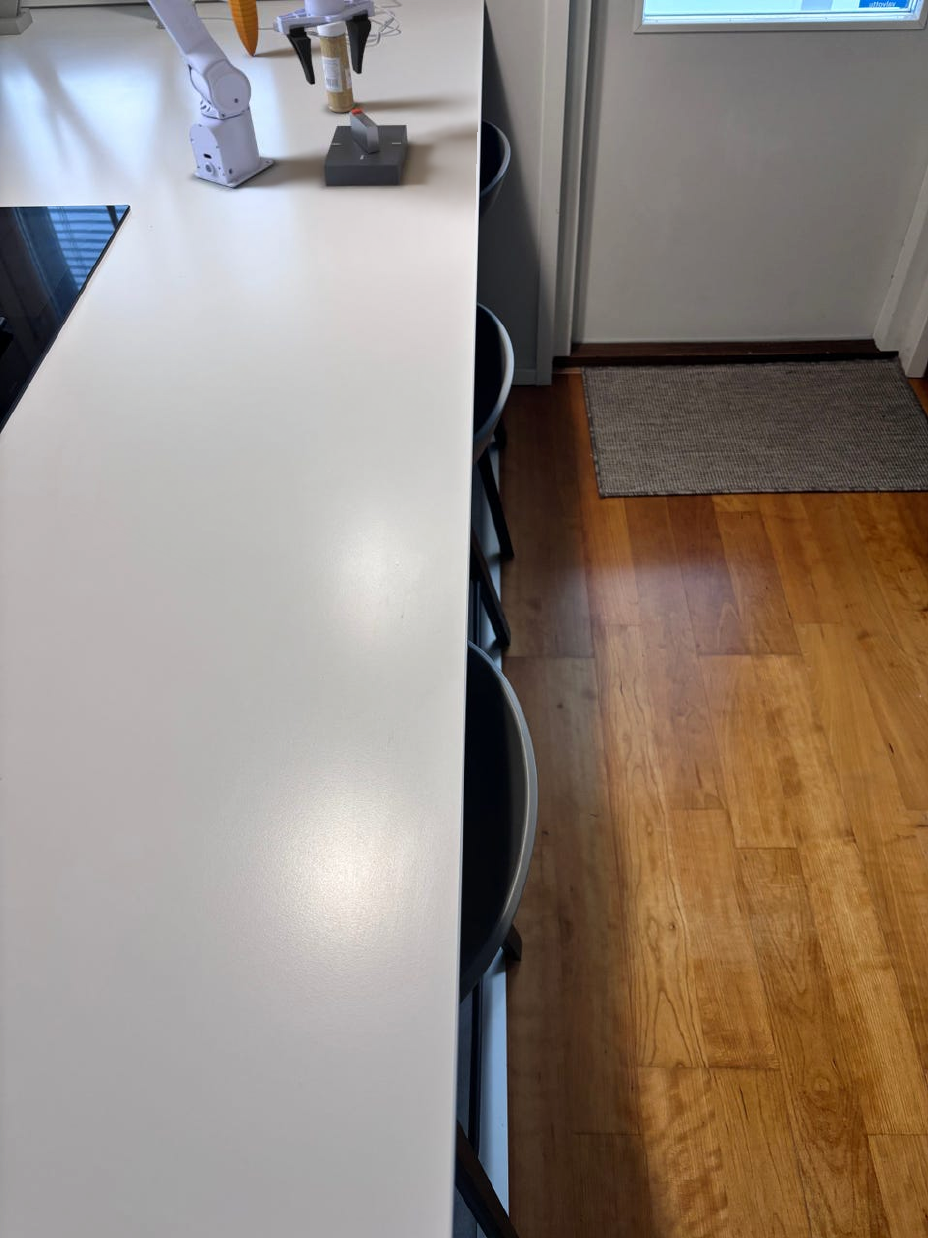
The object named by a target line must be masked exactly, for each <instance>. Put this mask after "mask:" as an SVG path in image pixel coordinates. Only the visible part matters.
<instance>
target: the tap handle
mask: <svg viewBox="0 0 928 1238" xmlns="http://www.w3.org/2000/svg"><path fill="white" fill-rule="evenodd" d="M348 113H349V114H348V115H349V123H350V126H351V131H352V138H353V139H354V140H355V141H356V142H357V143H358V144H360V145H361V146H362V147H363V148H364V149H365V150H366V151H367V152H368V153H373V152H377V151H380V148H379V138H378V128H377V125H378V124H377V123H376V122H374V120H372V119H371V117H369V116H368V115H367V114H366V113H365V112H363V110H362V109H361V108H355V109H354V108H353V109H352V110H350V111H348Z"/></svg>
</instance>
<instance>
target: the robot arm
mask: <svg viewBox="0 0 928 1238" xmlns="http://www.w3.org/2000/svg"><path fill="white" fill-rule="evenodd" d="M146 1H147V2H148V4H149V5H150V7H151V8H152V9H153V12H154V14H156V16H157V17H158V19H159V21H160V22H161V24H162V25H163V27H164V29H165V30H166V31H167V33H168V34H169V36H170V37H171V39H172V41H173V42H174V44H175V45H176V46H177V48H178V51H179V54H180V57H181V58H182V60H183V62H184V63H185V65H186V67H187V71H188V73H187V74H188V77H189V81H190V83H191V85H192V87H193V88H194V89H195V90H196V91H197V92H198V93H199V94H200V100H199V110H200V113H199V116H198V118H197V120H196V121H194V122H193V124H192V125H191V126H190V128H189V140H190V145H191V148H192V152H193V156H194V160H195V164H196V168H197V171H196V172H195V177H197V178H200V179H203V180H206V181H209V182H212V183H217V184H219V185H223V186H226V187H229V188H235V187H237V186H238V185H240V184H242V183H244V182H245V181H247V180H248V179H250V178H252V177H254V176H255V175H257V174H258V173H260V172H262V171H263V170H265V169H267V168H268V167H270V166H272V165H273V164H274V161H273V160H272V159H270V158H266V157H262V156H260V152H259V151H260V150H259V146H258V141H257V140H258V139H257V136H256V131H255V125H254V120H253V116H252V110H251V105H250V101H251V99H252V86H251V85H252V84H251V82H250V80H249V78H248V76H247V75H246V74H245V73H244V72H243V71H242V70H240V69H239V68H237V67H236V66H235V65H233V64H232V63H231V62H230V60H229V58H228V56H227V55H226V53H225V52H224V51H223V49H222V48H221V47H220V46H219V44H217V42H216V40H215V39H214V38H213V37H212V35H211V33H210V32H209V30H208V29H207V27H206V26H205V24H204V23H203V21H202V19H201V18H200V16H199V14H198V12H197V11H196V9H195V8H194V5H193V4H192V3H191V1H190V0H146ZM375 16H376V13H375V2H374V0H304V6H303V7H302V8H299V9H296V10H294V11H291V12H288V13H285V14H282V15H281V14H280V15H276V23H277V28H278V32H279V33H280V34H281V35H283V36H286V38H287V40H288V41H289V43H290V45H291V47H292V49H293V50H294V53H295V54H296V56H297V58H298V60H299V62H300V65H301V68H302V70H303V73H304V77H305V80H306V82H307V83H308V84H309V85H311V86H313V85H316V76H315V70H314V65H313V56H312V38H310V37H309V36H308V32H307V31H306V29H312V28H315V27H316V28H317V26H321V25H326V24H331V23H336V22H340V21H345V24H346V33H347V36H348V42H349V49H350V50H349V51H350V63H351V67H352V71H353V72H354V73H355V74H357V75H361V74H362V73H363V62H364V55H365V49H366V46H367V41H368V39H369V37H370V33H371V31H372V20H370V19H369V18H372V17H375Z"/></svg>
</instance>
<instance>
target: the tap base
mask: <svg viewBox="0 0 928 1238" xmlns="http://www.w3.org/2000/svg"><path fill="white" fill-rule="evenodd" d="M377 128H378V138H379V148H380V151H377V152H373V153H368V152H367V151H366V150H365V149H364V148H363V147H362V146H361V145H360V144H358V143H357V142H356V141H355V140H354V139H353V138H352V131H351V125H337V126H336V128H335V130H334V133H333V136H332V139H331V141H330V145H329V147H328V150H327V154H326V157H325V160H324V162H323V166H322V167H323V173H324V175H323V176H324V181H325V186H326V187H342V186H343V187H344V186H345V187H349V186H351V187H352V186H353V187H355V186H356V187H357V186H358V187H359V186H361V187H362V186H363V187H364V186H367V187H368V186H399V185H400V182H401V178H402V173H403V168H404V164H405V160H406V159H405V158H406V154H407V151H408V145H409V140H408V129H407V124H377Z"/></svg>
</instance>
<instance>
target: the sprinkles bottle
mask: <svg viewBox="0 0 928 1238" xmlns="http://www.w3.org/2000/svg"><path fill="white" fill-rule="evenodd" d="M316 28H317V34H318V37H319V42H320V43H319V44H320V52H321V60H322V61H321V62H322V67H323V76H324V82H325V89H326V92H327V100H328V101H327V102H328V109H329V110H330V111H331V112H332V113H333V112H334V113H347V112H350V110H354V108H355V106H356V102H355V100H354V93H353V82H352V75H351V66H350V59H349V53H348V52H349V51H348V45H347V36H346V34H347V27H346V23H345V21H340V22H336V23H331V24H326V25H321V26H316Z"/></svg>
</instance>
